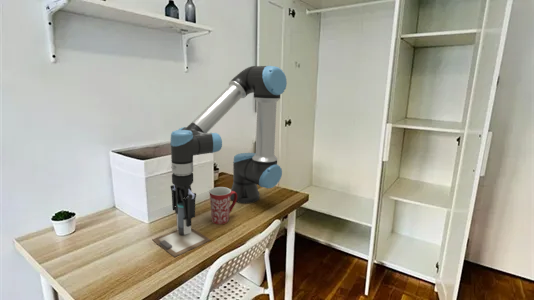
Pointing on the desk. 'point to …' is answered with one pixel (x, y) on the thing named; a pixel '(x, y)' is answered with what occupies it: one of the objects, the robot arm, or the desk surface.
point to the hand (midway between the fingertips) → (184, 230)
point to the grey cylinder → (181, 218)
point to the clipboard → (180, 242)
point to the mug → (221, 204)
